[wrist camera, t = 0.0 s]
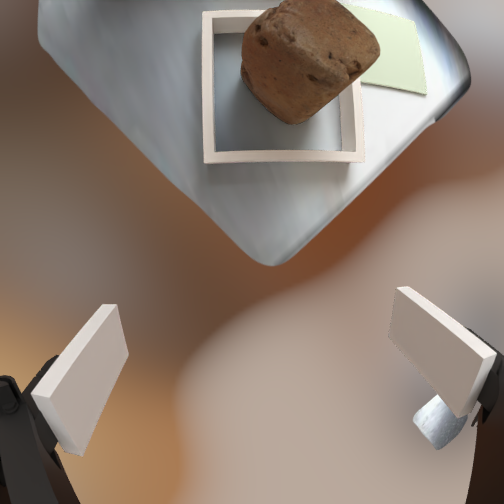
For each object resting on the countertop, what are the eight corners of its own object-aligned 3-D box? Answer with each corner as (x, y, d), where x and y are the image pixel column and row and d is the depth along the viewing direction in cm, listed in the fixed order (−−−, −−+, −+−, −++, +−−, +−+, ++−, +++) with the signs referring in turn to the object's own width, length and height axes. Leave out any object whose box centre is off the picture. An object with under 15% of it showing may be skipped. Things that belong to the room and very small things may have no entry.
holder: (205, 27, 32) (202, 11, 28) (339, 32, 34) (352, 19, 29) (207, 164, 38) (203, 162, 33) (350, 162, 39) (364, 162, 34)
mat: (337, 4, 32) (338, 2, 32) (412, 22, 33) (414, 21, 32) (347, 80, 36) (348, 79, 35) (425, 94, 37) (427, 94, 36)
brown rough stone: (325, 98, 36) (398, 49, 17) (289, 134, 37) (344, 101, 18) (267, 47, 34) (296, -37, 15) (229, 81, 35) (229, 6, 16)
